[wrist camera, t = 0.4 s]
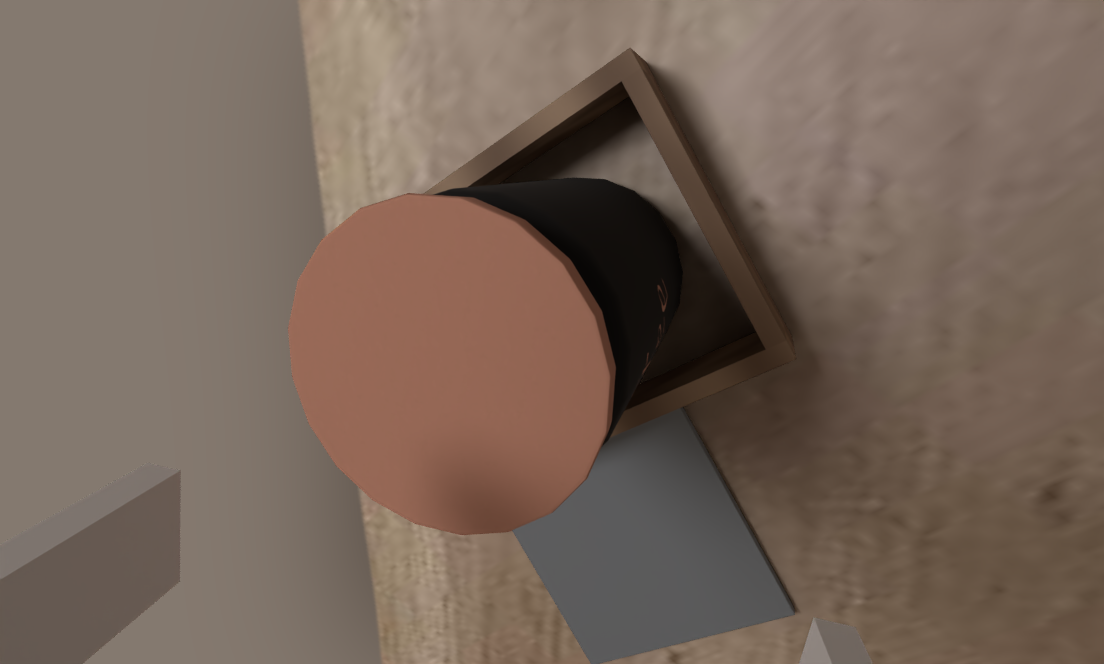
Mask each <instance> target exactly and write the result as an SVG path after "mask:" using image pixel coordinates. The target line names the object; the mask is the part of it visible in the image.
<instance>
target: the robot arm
mask: <svg viewBox="0 0 1104 664" xmlns="http://www.w3.org/2000/svg"><path fill="white" fill-rule="evenodd" d="M180 473H181V472H180V470H176V469H173V468H168V467H164V466H160V465H155V464H151V463H146V464H145V465H143V466H141V467H139V468H137V469H136V470H134V471H132V472H130V473H128V474H126V475H124V476H123V477H121V478H119V479H117V480H115V481H114V482H112V483H110V484H108V485H106V486H105V487H103V488H101V489H99V490H97V491H96V492H94V493H92V494H90V495H88V496H86V497H85V498H83V499H81V500H79V501H77V502H76V503H74V504H72V505H70V506H68V507H67V508H65V509H63V510H61V511H59V512H57V513H56V514H54V515H52V516H50V517H48V518H47V519H45V520H43V521H41V522H39V523H37V524H36V525H34V526H32V527H30V528H29V529H26V530H25V531H23V532H21V533H19V534H17V535H16V536H14V537H12V538H10V539H8V540H7V541H5V542H3V543H1V544H0V664H83V663H84V662H85V661H86V660H87V659H89V658H90V657H91V656H92V655H93V654H95V653H96V652H97V651H98V650H99V649H100V648H101V647H103V646H104V645H105V644H106V643H108V642H109V641H110V640H111V639H112V638H113V637H115V636H116V635H117V634H118V633H119V632H121V631H122V630H123V629H124V628H125V627H126V626H128V625H129V624H130V623H131V622H132V621H134V620H135V619H136V618H137V617H138V616H140V615H141V613H143V612H144V611H145V610H147V609H148V608H149V607H150V606H151V605H153V604H154V603H155V602H156V601H157V600H158V599H160V598H161V597H162V596H163V595H164V594H165V593H167V592H168V591H169V590H170V589H171V588H173V587H174V586H175V585H176V584H177V583H178V582H180ZM799 664H873V663H872V661H871V659H870V656H869V654H868V652H867V650H866V648H865V646H864V644H863V642H862V640H861V638H860V636H859V634H858V632H857V630H856V627H853V626H849V625H844V624H840V623H836V622H831V621H827V620H823V619H818V618H813V621H812V624H811V628H810V631H809V634H808V637H807V640H806V643H805V647H804V650H803V653H802V656H801V659H800V662H799Z"/></svg>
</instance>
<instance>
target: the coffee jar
mask: <svg viewBox="0 0 1104 664" xmlns="http://www.w3.org/2000/svg"><path fill="white" fill-rule="evenodd" d="M682 275H683V271H682V266H681V262H680V257H679V253H678V248H677V244H676V240H675V238H674V237H673V235H672V233H671V232H670V230H669V228H668V227H667V225H666V223H665V222H664V220H663V218H662V217H661V215H660V213H659V212H658V211H657V210H656V209H654V208H653V207H652V206H651V205H650V204H649V203H647V202H646V201H645V200H644V199H643V198H642V197H640V196H639V195H638V194H637V193H636V192H635V191H632V190H630V189H628V188H625V187H623V186H620V185H618V184H615V183H613V182H610V181H608V180H605V179H590V178H564V179H553V180H542V181H531V182H520V183H509V184H498V185H487V186H476V187H464V188H453V189H449V190H446V191H443V192H439V193H436V194H433V195H429V194H414V193H407V194H404V195H401V196H398V197H395V198H391V199H388V200H385V201H382V202H379V203H375V204H372V205H369V206H366V207H363V208H360V209H359V210H358V211H356V212H355V213H354V214H353V215H351V216H350V217H349V218H348V219H347V220H345V221H344V222H343V223H342V224H340V225H339V226H338V227H337V228H335V229H334V230H333V231H332V232H331V233H329V234H328V235H327V236H326V237H324V238H323V239H322V240H321V242H320V243H319V245H318V247H317V249H316V250H315V252H314V254H313V255H312V257H311V259H310V261H309V263H308V264H307V266H306V268H305V269H304V271H303V273H302V274H301V276H300V278H299V280H298V282H297V288H296V292H295V297H294V302H293V307H292V312H291V317H290V322H289V327H288V332H289V343H290V355H291V366H292V377H293V380H294V383H295V386H296V389H297V392H298V394H299V397H300V400H301V403H302V406H303V408H304V411H305V414H306V417H307V420H308V423H309V425H310V426H311V428H312V429H313V431H314V432H315V434H316V435H317V437H318V438H319V440H320V442H321V443H322V444H323V446H324V448H325V449H326V451H327V452H328V454H329V455H330V457H331V458H332V460H333V461H334V463H335V464H336V466H337V467H338V468H339V469H340V470H341V471H342V472H343V473H345V474H346V475H347V476H348V477H349V478H350V479H351V480H352V481H353V482H354V483H355V484H356V485H357V486H358V487H359V488H360V489H361V490H363V491H364V492H365V493H366V494H367V495H368V496H369V497H370V498H371V499H372V500H373V501H375V502H377V503H379V504H381V505H382V506H384V507H386V508H388V509H390V510H391V511H393V512H395V513H397V514H399V515H400V516H402V517H404V518H406V519H408V520H409V521H411V522H413V523H415V524H418V525H422V526H426V527H430V528H434V529H439V530H443V531H447V532H451V533H455V534H459V535H471V534H486V533H501V532H509V531H512V530H514V529H516V528H519V527H521V526H523V525H525V524H528V523H530V522H532V521H535V520H537V519H539V518H542V517H544V516H546V515H549V514H551V513H553V512H554V511H555V510H556V509H557V508H558V507H559V506H560V505H561V504H562V503H563V502H564V501H565V500H566V499H567V498H568V497H569V496H570V495H571V494H572V493H573V492H574V491H575V490H576V489H577V488H578V487H579V486H580V485H581V484H582V483H583V482H584V481H585V480H586V479H587V478H588V476H589V474H590V471H591V469H592V467H593V465H594V462H595V460H596V458H597V456H598V454H599V451H600V449H601V447H602V446H603V445H604V444H605V443H606V442H607V441H608V440H609V438H610V436H611V434H612V433H613V431H614V429H615V427H616V425H617V423H618V421H619V419H620V418H621V416H622V414H623V412H624V410H625V408H626V406H627V405H628V403H629V401H630V399H631V397H632V395H633V393H634V391H635V390H636V388H637V386H638V384H639V382H640V380H641V378H642V377H643V375H644V373H645V371H646V369H647V367H648V365H649V363H650V362H651V360H652V358H653V356H654V354H655V352H656V350H657V349H658V347H659V345H660V343H661V341H662V339H663V337H664V335H665V334H666V332H667V330H668V327H669V325H670V323H671V321H672V319H673V317H674V314H675V312H676V310H677V308H678V306H679V303H680V294H681V285H682Z"/></svg>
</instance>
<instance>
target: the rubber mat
mask: <svg viewBox="0 0 1104 664" xmlns="http://www.w3.org/2000/svg"><path fill="white" fill-rule="evenodd" d="M512 531H513V532H514V534H515V536H516V538H517V539H518V541H519V543H520V544H521V546H522V548H523V549H524V551H525V553H526V554H527V556H528V558H529V560H530V561H531V563H532V565H533V566H534V568H535V570H536V571H537V573H538V575H539V576H540V578H541V580H542V582H543V583H544V585H545V587H546V588H547V590H548V592H549V593H550V595H551V597H552V599H553V600H554V602H555V604H556V605H557V607H558V609H559V610H560V612H561V614H562V615H563V617H564V619H565V621H566V622H567V624H568V626H569V627H570V629H571V631H572V632H573V634H574V636H575V637H576V639H577V641H578V643H579V644H580V646H581V648H582V649H583V651H584V653H585V654H586V656H587V658H588V659H589V661H590V663H591V664H599V663H603V662H607V661H611V660H615V659H619V658H623V657H627V656H631V655H635V654H639V653H643V652H647V651H651V650H655V649H659V648H663V647H667V646H671V645H675V644H679V643H683V642H687V641H691V640H695V639H699V638H703V637H707V636H711V635H715V634H719V633H723V632H727V631H731V630H735V629H739V628H743V627H747V626H751V625H755V624H759V623H763V622H767V621H771V620H775V619H779V618H783V617H787V616H791V615H795V611H794V606H793V605H792V603H791V601H790V599H789V597H788V596H787V594H786V592H785V590H784V588H783V587H782V585H781V583H780V581H779V579H778V578H777V576H776V574H775V572H774V570H773V569H772V567H771V565H770V563H769V561H768V560H767V558H766V556H765V554H764V552H763V550H762V549H761V547H760V545H759V543H758V541H757V540H756V538H755V536H754V534H753V532H752V531H751V529H750V527H749V525H748V523H747V522H746V520H745V518H744V516H743V514H742V513H741V511H740V509H739V507H738V505H737V504H736V502H735V500H734V498H733V496H732V495H731V493H730V491H729V489H728V487H727V486H726V484H725V482H724V480H723V478H722V477H721V475H720V473H719V471H718V469H717V467H716V466H715V464H714V462H713V460H712V458H711V457H710V455H709V453H708V451H707V449H706V448H705V446H704V444H703V442H702V440H701V439H700V437H699V435H698V433H697V431H696V430H695V428H694V426H693V424H692V422H691V421H690V419H689V417H688V415H687V413H686V412H685V410H684V408H683V407H681V408H679V409H677V410H674V411H672V412H670V413H667V414H665V415H662V416H660V417H658V418H655V419H653V420H651V421H648V422H646V423H643V424H641V425H639V426H636V427H634V428H631V429H629V430H627V431H624V432H622V433H620V434H617V435H615V436H612V437H610V438H609V440H608V441H607V442H606V443H605V444H604V445H603V446H602V447H601V449H600V451H599V454H598V456H597V458H596V460H595V462H594V465H593V467H592V469H591V471H590V474H589V476H588V478H587V479H586V480H585V481H584V482H583V483H582V484H581V485H580V486H579V487H578V488H577V489H576V490H575V491H574V492H573V493H572V494H571V495H570V496H569V497H568V498H567V499H566V500H565V501H564V502H563V503H562V504H561V505H560V506H559V507H558V508H557V509H556V510H555V511H554V512H553V513H551V514H549V515H546V516H544V517H542V518H539V519H537V520H535V521H532V522H530V523H528V524H525V525H523V526H521V527H519V528H516V529H514V530H512Z"/></svg>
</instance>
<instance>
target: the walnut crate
mask: <svg viewBox="0 0 1104 664" xmlns="http://www.w3.org/2000/svg"><path fill="white" fill-rule="evenodd" d="M629 96H630V98H631V100H632V101H633V103H634V105H635V107H636V109H637V111H638V113H639V114H640V116H641V118H642V120H643V122H644V124H645V126H646V128H647V129H648V131H649V133H650V135H651V137H652V139H653V141H654V142H655V144H656V146H657V148H658V150H659V152H660V154H661V155H662V157H663V159H664V161H665V163H666V165H667V167H668V168H669V170H670V172H671V174H672V176H673V178H674V180H675V181H676V183H677V185H678V187H679V189H680V191H681V193H682V195H683V196H684V198H685V200H686V202H687V204H688V206H689V208H690V209H691V211H692V213H693V215H694V217H695V219H696V221H697V222H698V224H699V226H700V228H701V230H702V232H703V234H704V235H705V237H706V239H707V241H708V243H709V245H710V247H711V248H712V250H713V252H714V254H715V256H716V258H717V260H718V261H719V263H720V265H721V267H722V269H723V271H724V273H725V275H726V276H727V278H728V280H729V282H730V284H731V286H732V288H733V289H734V291H735V293H736V295H737V297H738V299H739V301H740V302H741V304H742V306H743V308H744V310H745V312H746V314H747V315H748V317H749V319H750V321H751V323H752V325H753V327H754V328H755V330H756V332H755V333H753V334H751V335H748V336H746V337H744V338H742V339H740V340H737V341H735V342H733V343H731V344H728V345H726V346H724V347H722V348H720V349H717V350H715V351H713V352H711V353H708V354H706V355H704V356H702V357H700V358H697V359H695V360H693V361H691V362H688V363H686V364H684V365H682V366H680V367H677V368H675V369H673V370H671V371H668V372H666V373H664V374H662V375H660V376H657V377H655V378H653V379H651V380H649V381H646V382H644V383H642V384H640V385H638V386H637V388H636V390H635V391H634V393H633V395H632V397H631V399H630V401H629V403H628V405H627V406H626V408H625V410H624V412H623V414H622V416H621V418H620V419H619V421H618V423H617V425H616V427H615V429H614V431H613V433H612V434H611V436H610V437H612V436H615V435H617V434H620V433H622V432H624V431H627V430H629V429H631V428H634V427H636V426H639V425H641V424H643V423H646V422H648V421H651V420H653V419H655V418H658V417H660V416H662V415H665V414H667V413H670V412H672V411H674V410H677V409H679V408H681V407H684V406H686V405H689V404H691V403H693V402H696V401H698V400H700V399H703V398H705V397H708V396H710V395H712V394H715V393H717V392H720V391H722V390H724V389H727V388H729V387H731V386H734V385H736V384H739V383H741V382H743V381H746V380H748V379H750V378H753V377H755V376H758V375H760V374H762V373H765V372H767V371H769V370H772V369H774V368H777V367H779V366H781V365H784V364H786V363H789V362H791V361H793V360H796V355H795V350H794V345H793V340H792V336H791V334H790V332H789V330H788V328H787V326H786V324H785V323H784V321H783V319H782V317H781V315H780V313H779V311H778V309H777V308H776V306H775V304H774V302H773V300H772V298H771V296H770V294H769V293H768V291H767V289H766V287H765V285H764V283H763V281H762V279H761V278H760V276H759V274H758V272H757V270H756V268H755V266H754V264H753V262H752V261H751V259H750V257H749V255H748V253H747V251H746V249H745V247H744V246H743V244H742V242H741V240H740V238H739V236H738V234H737V232H736V231H735V229H734V227H733V225H732V223H731V221H730V219H729V217H728V216H727V214H726V212H725V210H724V208H723V206H722V204H721V202H720V201H719V199H718V197H717V195H716V193H715V191H714V189H713V187H712V185H711V184H710V182H709V180H708V178H707V176H706V174H705V172H704V170H703V169H702V167H701V165H700V163H699V161H698V159H697V157H696V155H695V154H694V152H693V150H692V148H691V146H690V144H689V142H688V140H687V139H686V137H685V135H684V133H683V131H682V129H681V127H680V125H679V124H678V122H677V120H676V118H675V116H674V114H673V112H672V110H671V109H670V107H669V105H668V103H667V101H666V99H665V97H664V95H663V93H662V92H661V90H660V88H659V86H658V84H657V82H656V80H655V78H654V77H653V75H652V73H651V71H650V69H649V67H648V65H647V63H646V62H645V60H643V59H642V58H641V57H640V56H639V55H638V54H637V53H636V52H634V51H633V50H632V49H631V48H629V49H627V50H626V51H625V52H623V53H622V54H620V55H619V56H617V57H616V58H615V59H613V60H612V61H610V62H609V63H608V64H606V65H605V66H603V67H602V68H600V69H599V70H598V71H596V72H595V73H593V74H592V75H591V76H589V77H588V78H586V79H585V80H583V81H582V82H581V83H579V84H578V85H576V86H575V87H574V88H572V89H571V90H569V91H568V92H567V93H565V94H564V95H562V96H561V97H559V98H558V99H557V100H555V101H554V102H552V103H551V104H550V105H548V106H547V107H545V108H544V109H542V110H541V111H540V112H538V113H537V114H535V115H534V116H533V117H531V118H530V119H528V120H527V121H526V122H524V123H523V124H521V125H520V126H518V127H517V128H516V129H514V130H513V131H511V132H510V133H509V134H507V135H506V136H504V137H503V138H501V139H500V140H499V141H497V142H496V143H494V144H493V145H492V146H490V147H489V148H487V149H486V150H485V151H483V152H482V153H480V154H479V155H477V156H476V157H475V158H473V159H472V160H470V161H469V162H468V163H466V164H465V165H463V166H462V167H460V168H459V169H458V170H456V171H455V172H453V173H452V174H451V175H449V176H448V177H446V178H445V179H444V180H442V181H441V182H439V183H438V184H436V185H435V186H434V187H432V188H431V189H429V190H428V191H427V192H425V193H424V194H429V195H433V194H436V193H439V192H443V191H446V190H449V189H453V188H464V187H476V186H487V185H498V184H499V183H501V182H502V181H504V180H505V179H507V178H508V177H510V176H511V175H513V174H514V173H516V172H517V171H519V170H520V169H522V168H523V167H524V166H526V165H527V164H529V163H530V162H532V161H533V160H535V159H536V158H538V157H539V156H541V155H542V154H544V153H545V152H547V151H548V150H550V149H551V148H553V147H554V146H556V145H557V144H559V143H560V142H562V141H563V140H565V139H566V138H568V137H569V136H571V135H572V134H574V133H575V132H577V131H578V130H580V129H581V128H583V127H584V126H586V125H587V124H589V123H590V122H592V121H593V120H595V119H596V118H597V117H599V116H600V115H602V114H603V113H605V112H606V111H608V110H609V109H611V108H612V107H614V106H615V105H617V104H618V103H620V102H621V101H623V100H624V99H626V98H627V97H629Z"/></svg>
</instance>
